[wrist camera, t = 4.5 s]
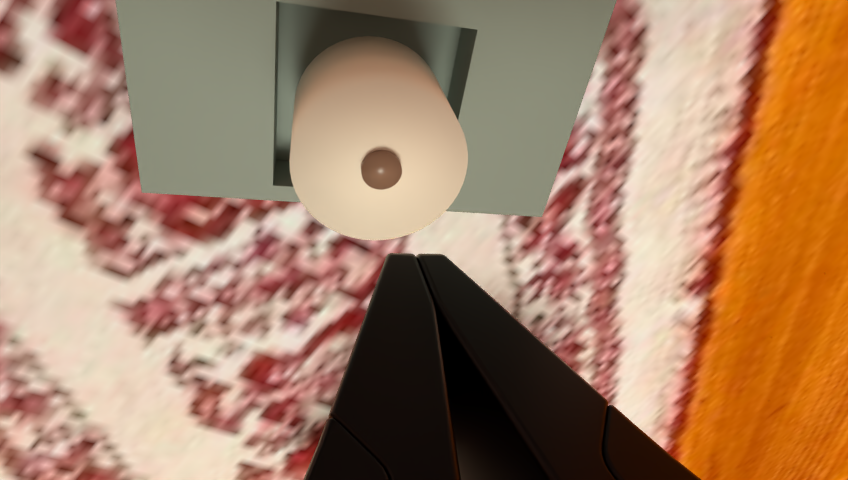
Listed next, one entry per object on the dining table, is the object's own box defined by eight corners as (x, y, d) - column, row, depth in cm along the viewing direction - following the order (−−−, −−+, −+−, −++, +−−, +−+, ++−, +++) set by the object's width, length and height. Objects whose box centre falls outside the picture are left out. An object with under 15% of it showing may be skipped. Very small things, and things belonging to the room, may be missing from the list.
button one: (291, 171, 16) (286, 240, 13) (297, 25, 13) (292, 72, 11) (428, 181, 16) (450, 248, 14) (455, 46, 14) (488, 95, 11)
